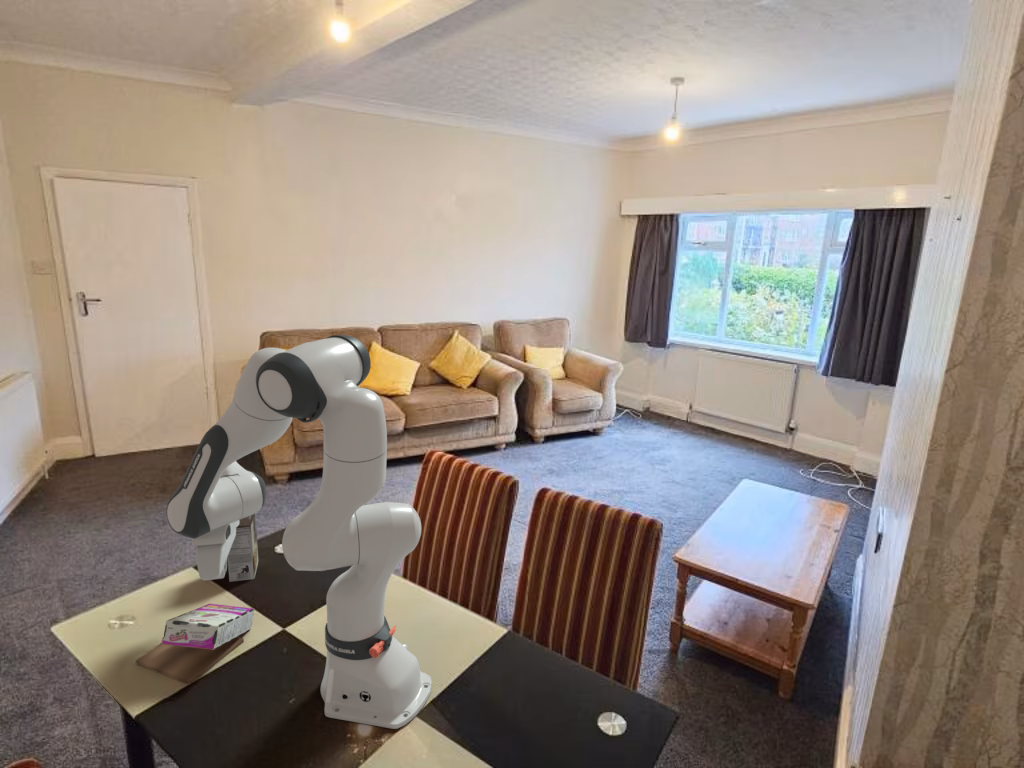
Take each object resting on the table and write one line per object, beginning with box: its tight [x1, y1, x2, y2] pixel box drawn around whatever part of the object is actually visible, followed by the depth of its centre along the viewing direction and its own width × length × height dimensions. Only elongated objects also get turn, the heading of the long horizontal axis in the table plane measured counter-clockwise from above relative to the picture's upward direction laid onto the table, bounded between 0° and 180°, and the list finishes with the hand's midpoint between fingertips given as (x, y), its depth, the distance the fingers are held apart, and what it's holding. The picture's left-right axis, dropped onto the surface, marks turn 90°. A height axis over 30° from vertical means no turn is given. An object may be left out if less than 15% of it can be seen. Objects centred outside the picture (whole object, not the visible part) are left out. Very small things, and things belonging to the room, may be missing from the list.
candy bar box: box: [161, 603, 255, 650], centre depth 123 cm, size 11×5×16 cm
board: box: [135, 636, 244, 686], centre depth 122 cm, size 15×14×1 cm
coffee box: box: [227, 513, 259, 583], centre depth 151 cm, size 9×6×16 cm
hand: (221, 575), depth 127 cm, fingers closed
